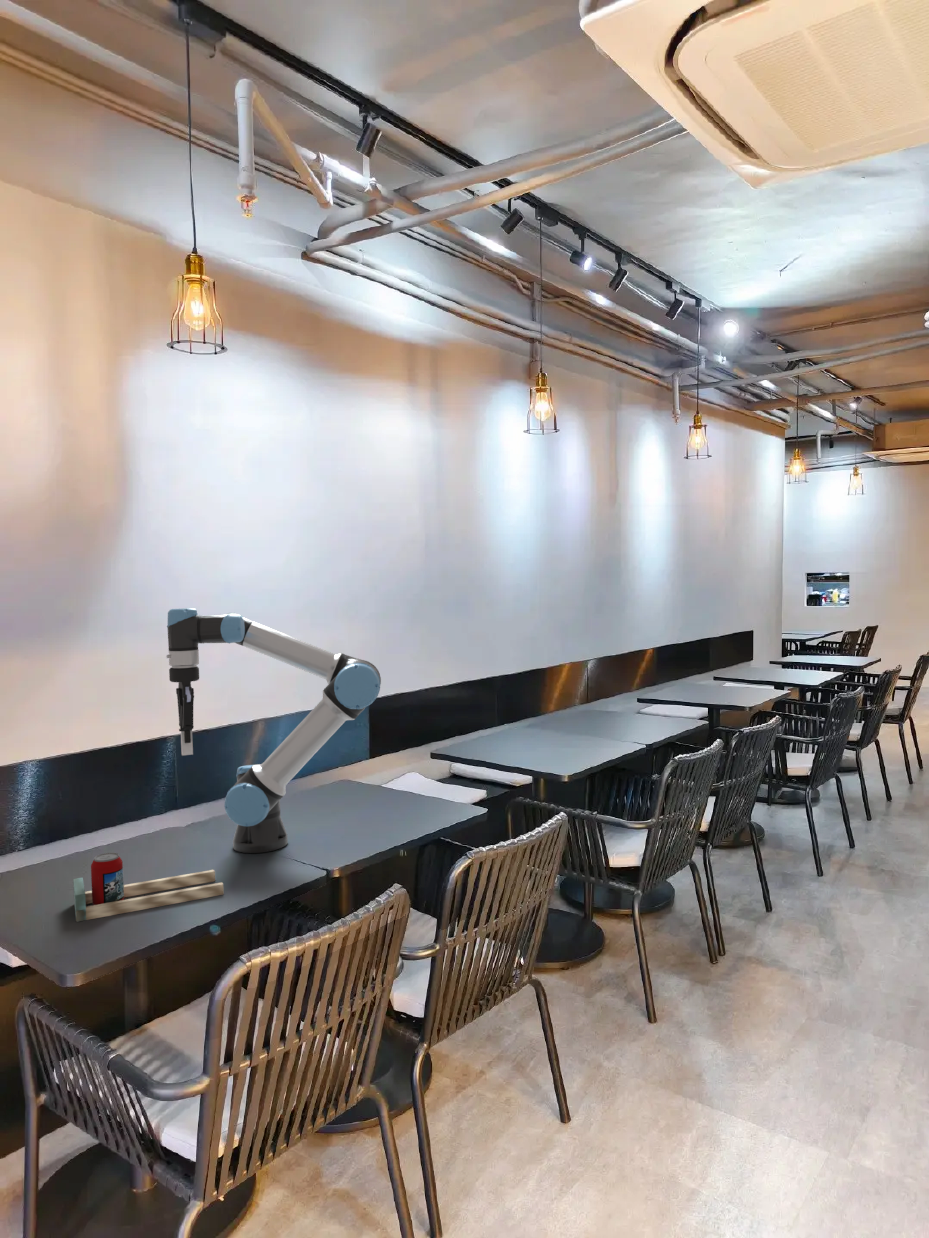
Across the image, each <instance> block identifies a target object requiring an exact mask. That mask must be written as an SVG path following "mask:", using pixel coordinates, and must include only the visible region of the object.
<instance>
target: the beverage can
mask: <svg viewBox="0 0 929 1238" xmlns="http://www.w3.org/2000/svg"><path fill="white" fill-rule="evenodd" d="M123 866H124V864H123V860H122V858H121V857H120V854H119V853H117V852H105V853H100V854H97V855H96V856H94V857H93V861H92V863H91V865H90V874H91V875H90V877H91V891H92V903H91V904H92V906H93V905H98V904H104V903H109V902H115V901H120V900H125V897H124V885H125V884H124V867H123Z"/></svg>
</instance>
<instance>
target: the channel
mask: <svg viewBox="0 0 929 1238" xmlns="http://www.w3.org/2000/svg"><path fill="white" fill-rule="evenodd" d="M72 881H73V882H72V883H73V901H74V902H73V905H74V913H75V921H76V922H78V923H79V922H83V921H89V920H94V919H99V918H104V917H111V916H116V915H119V914H120V915H121V914H125V913H132V912H137V911H142V910H148V909H154V908H158V907H162V906H163V907H164V906H168V905H170V906H171V905H174V904H179V903H185V902H189V901H197V900H200V899H201V900H202V899H207V898H212V897H218V896H224V895H225V894H224V883H223V882H222V881H221V882H216V871H215V869H209V870H203V871H197V872H191V873H187V874H186V873H185V874H180V875H175V876H174V875H173V876H167V877H163V878H158V879H152V880H145V881H140V882H134V883H129V884H128V883H127V884H124V898H127V897H128V899H124V900H120V901H115V902H109V903H104V904H98V905H93V903H92V890H88V891H86V890H85V883H84V878H83V877H78V878H73V879H72ZM212 882H216V883H212ZM207 883H208V884H207ZM209 883H211V884H209ZM201 884H203V885H201ZM204 884H205V885H204ZM195 885H199V886H195ZM189 886H194V887H189ZM184 887H185V888H184ZM186 887H188V888H186ZM178 888H179V889H178ZM180 888H183V889H180ZM174 889H177V890H174ZM167 890H168V891H167ZM169 890H171V891H169ZM162 891H166V892H162ZM156 892H159V893H156ZM151 893H155V894H151ZM144 894H145V896H144ZM146 894H149V895H146ZM139 895H143V896H139ZM135 896H138V897H135ZM129 897H132V898H129ZM89 904H92V905H89ZM87 905H88V906H87Z"/></svg>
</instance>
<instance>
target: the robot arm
mask: <svg viewBox="0 0 929 1238" xmlns="http://www.w3.org/2000/svg"><path fill="white" fill-rule="evenodd" d="M166 627H167V639H168V641H167V643H168V654H166V656H165V658H166V659H168V665H169V666H170V668H169V669H168V671H169V673H168V674H169V675H168V676H169V681H170V682H171V683H178V687H177V688H176V689H175V692H176V697H177V698H176V699H177V711H178V712H177V713H178V725H179V728H178V731H179V732H180V748H181V752H180V753H181V756H182V757H183V756H191V755H192V756H193V755H194V747H193V746H194V745H193V743H194V742H193V729H194V699H195V695H194V694H195V691H194V688H193V687H192V682H197V681H199V680H200V667H199V666H198V665H199V664H200V656H199V644H237V645H239V646H242V647H246V648H247V649H250V650H252V651H255V652H257V653H259V654H261V655H262V654H263V655H264V656H267V657H270V658H272V659H274V660H277V661H280V662H282V663H284V664H286V665H290V666H292V667H295V668H297V669H299V670H301V671H304V672H307V673H309V674H310V675H311V674H312V675H314V676H316V677H319V678H322V679H324V680H325V681H326V682H327V683H326V684H327V685H326V686H325V688H324V689H323V690H322V699H321V700H320V701H319V702H318V703H317V704H316V705H315V706H314V707H313V709H312V710H311V711H309V713H308V714H307V715H306V716H305V717H304V718H303V719H302V720H301V722H300V723H299V724H297V726H296V727H295V728H294V729H293V730H292V731H291V732H290V733H289V734H288V735H287V736H286V737H285V738H284V740H283V741H282V742H281V743H280V744H279V745H277V747H276V748H275V749H274V750H273V751H272V753H271V754H270V755H269V756H268V757H266V759H265V760H264V762H262V763H261V764H260V763H259V764H258V763H257V764H247V765H242V766H239V767H237V770H236V775H235V776H236V782H235V783H234V785H233V786H231V787H230V789H228V791H227V793H226V795H225V799H224V810H225V814H226V815H227V817H228V818H229V820H230V821H232V822H233V823H234V824H236V828H235V832H234V835H233V838H232V845H233V846H232V847H233V848H232V849H234V850H235V852H239V853H246V854H260V853H261V854H262V853H268V852H272V851H277V850H279V849H282V848H284V847H285V846H287V845H288V842H289V841H288V833H287V830H286V828H285V827H286V826H285V825H284V822H283V820H282V817H281V816H282V815H281V799H282V798H283V797H285V795H286V792H287V791H286V790H287V789H286V786H287V785H288V783H290V781H292V779H294V778H295V776H296V775H297V774H298V773H299V772H300V771H301V770H302V768H303V767H304V766H305V765H306V764H308V762H309V761H310V760H312V758H313V756H314V755H315V754H316V753H318V751H319V750H320V749H322V747H323V746H325V744H326V743H327V742H328V741H329V740H330V738H331V737H333V735H334V734H335V733H337V731H338V730H339V729H340V727H342V726H343V724H345V722H346V721H347V722H348V721H354V720H356V719H357V718H358V716H359V715H361V713H363V711H365V709H366V708H367V707H369V706H370V705H372V704H373V703H374V702H375V701H376V699H377V698H378V696H379V694H380V691H381V684H382V677H381V674H380V672H379V669H378V668H377V667H376V666H375V665H374V664H373V663H372V662H370V661H368V660H364V659H361V658H357V657H354V656H350V655H347V654H345V653H342V652H340V653H337V654H335V653H333V652H331V651H328V650H325V649H323V648H321V647H318V646H317V645H316V646H315V645H313V644H311V643H308V642H306V641H303V640H301V639H298V638H295V637H293V636H292V635H291V636H290V635H288V634H286V633H284V632H280V631H278V630H276V629H274V628H270V627H269V626H266V625H263V624H261V623H258V622H256V621H253V620H251V619H248V618H245V617H244V616H243V615H241V614H239V613H237V612H228V613H224V614H210V615H209V614H208V615H203V614H202V615H201V614H198V611H197V608H195V607H194V608H192V607H191V608H190V607H189V608H187V607H185V608H170V609H169V611H168V612H167V626H166Z"/></svg>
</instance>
